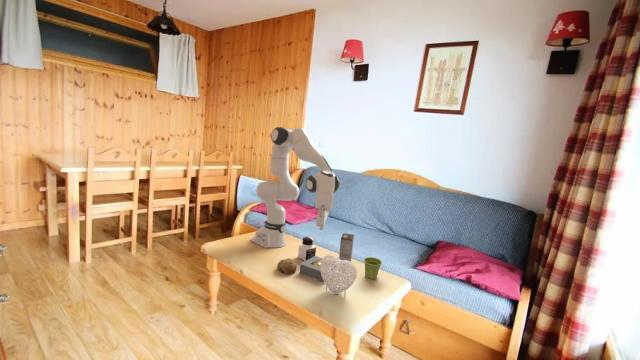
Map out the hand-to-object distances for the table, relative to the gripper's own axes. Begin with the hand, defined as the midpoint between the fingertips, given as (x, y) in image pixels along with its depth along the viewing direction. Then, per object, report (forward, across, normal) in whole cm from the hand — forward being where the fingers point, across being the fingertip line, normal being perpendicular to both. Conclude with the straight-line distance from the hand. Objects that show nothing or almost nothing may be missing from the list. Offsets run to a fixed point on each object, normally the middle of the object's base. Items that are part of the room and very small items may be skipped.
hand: (321, 229), depth 161 cm
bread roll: (+23, -5, +15) cm, 28 cm away
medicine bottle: (+23, +13, +8) cm, 28 cm away
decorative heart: (+22, -21, -12) cm, 33 cm away
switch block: (+23, -3, -1) cm, 23 cm away
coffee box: (+23, +13, -14) cm, 30 cm away
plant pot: (+23, +2, -28) cm, 36 cm away
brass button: (+21, -3, -1) cm, 21 cm away
